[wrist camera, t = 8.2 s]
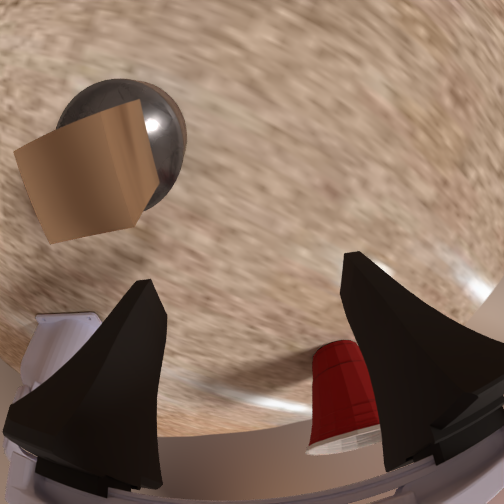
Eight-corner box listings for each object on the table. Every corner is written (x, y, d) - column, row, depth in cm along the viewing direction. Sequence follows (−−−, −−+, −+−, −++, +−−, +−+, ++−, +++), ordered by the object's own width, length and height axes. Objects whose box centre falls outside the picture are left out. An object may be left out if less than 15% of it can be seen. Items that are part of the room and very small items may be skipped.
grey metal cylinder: (95, 205, 19) (78, 226, 16) (64, 101, 14) (40, 108, 11) (201, 184, 19) (196, 203, 16) (179, 62, 14) (168, 60, 11)
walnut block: (88, 199, 15) (49, 244, 11) (65, 125, 12) (13, 151, 8) (159, 182, 15) (134, 227, 11) (140, 98, 12) (100, 111, 8)
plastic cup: (273, 372, 32) (284, 464, 22) (325, 317, 27) (358, 429, 17) (340, 380, 35) (359, 456, 26) (393, 334, 30) (428, 419, 20)
